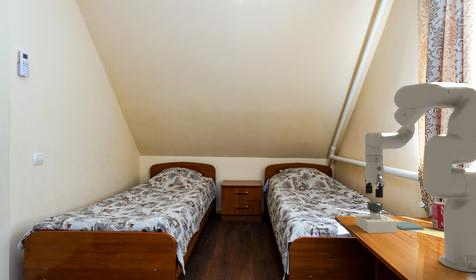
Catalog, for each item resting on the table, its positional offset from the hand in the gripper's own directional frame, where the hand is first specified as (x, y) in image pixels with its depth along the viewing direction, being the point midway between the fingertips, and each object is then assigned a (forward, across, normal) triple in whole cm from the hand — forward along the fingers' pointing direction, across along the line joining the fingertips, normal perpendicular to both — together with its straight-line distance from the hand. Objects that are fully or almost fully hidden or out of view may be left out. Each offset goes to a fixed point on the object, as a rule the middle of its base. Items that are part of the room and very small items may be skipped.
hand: (373, 195), depth 139 cm
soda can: (+15, -3, -30) cm, 34 cm away
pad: (+15, +1, -16) cm, 22 cm away
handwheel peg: (+15, -1, 0) cm, 15 cm away
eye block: (+15, -1, 0) cm, 15 cm away
